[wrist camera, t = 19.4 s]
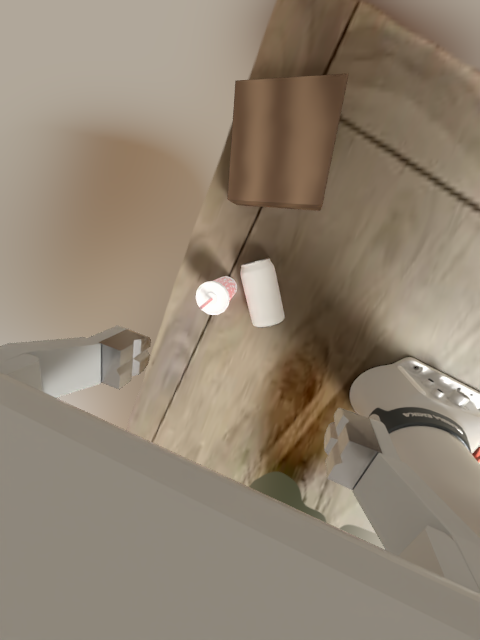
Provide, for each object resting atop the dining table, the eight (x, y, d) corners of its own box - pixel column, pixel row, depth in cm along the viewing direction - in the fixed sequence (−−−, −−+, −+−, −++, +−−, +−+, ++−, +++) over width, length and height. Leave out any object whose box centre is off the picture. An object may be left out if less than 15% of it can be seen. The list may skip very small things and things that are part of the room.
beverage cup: (213, 299, 49) (184, 323, 36) (212, 271, 47) (180, 287, 34) (240, 301, 48) (219, 328, 35) (240, 273, 45) (219, 290, 33)
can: (248, 330, 42) (233, 266, 39) (257, 319, 48) (243, 263, 45) (282, 325, 40) (268, 257, 37) (287, 315, 46) (275, 255, 43)
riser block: (341, 101, 34) (348, 73, 28) (320, 210, 39) (322, 205, 33) (246, 104, 37) (235, 80, 32) (237, 205, 42) (227, 199, 37)
